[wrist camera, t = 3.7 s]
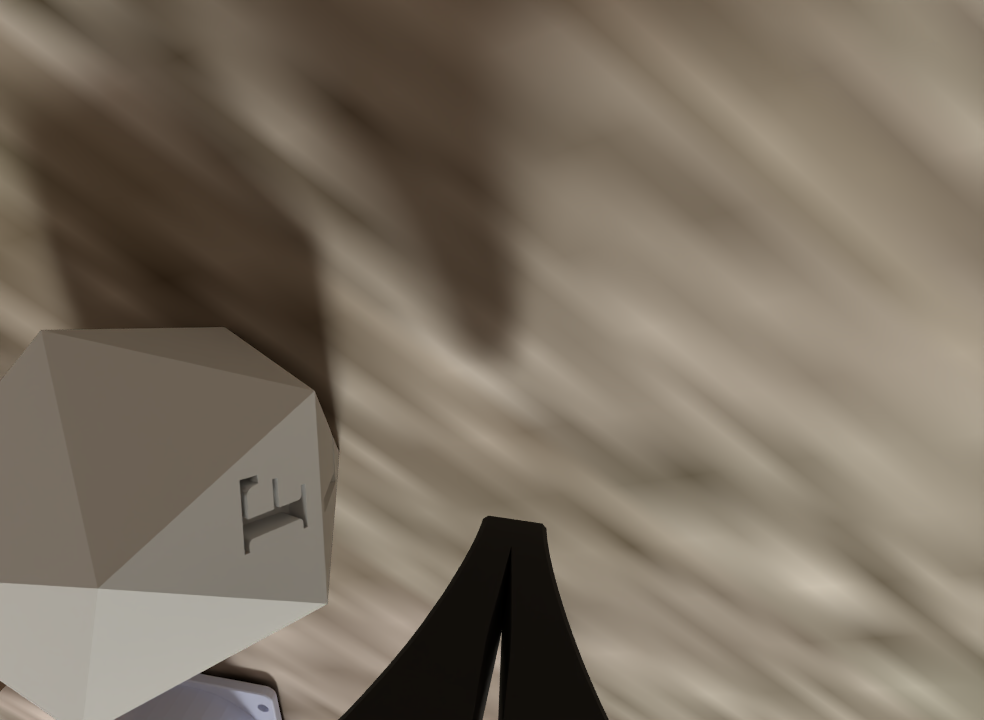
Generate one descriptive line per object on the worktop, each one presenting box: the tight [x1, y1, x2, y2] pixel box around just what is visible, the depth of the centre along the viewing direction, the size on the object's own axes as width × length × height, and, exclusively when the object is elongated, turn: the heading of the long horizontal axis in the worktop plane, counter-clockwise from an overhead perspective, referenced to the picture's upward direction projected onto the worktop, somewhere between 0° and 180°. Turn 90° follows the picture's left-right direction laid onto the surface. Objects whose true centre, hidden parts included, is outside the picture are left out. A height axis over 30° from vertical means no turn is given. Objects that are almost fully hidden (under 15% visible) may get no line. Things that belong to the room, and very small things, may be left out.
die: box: [0, 327, 339, 720], centre depth 12 cm, size 8×9×10 cm
